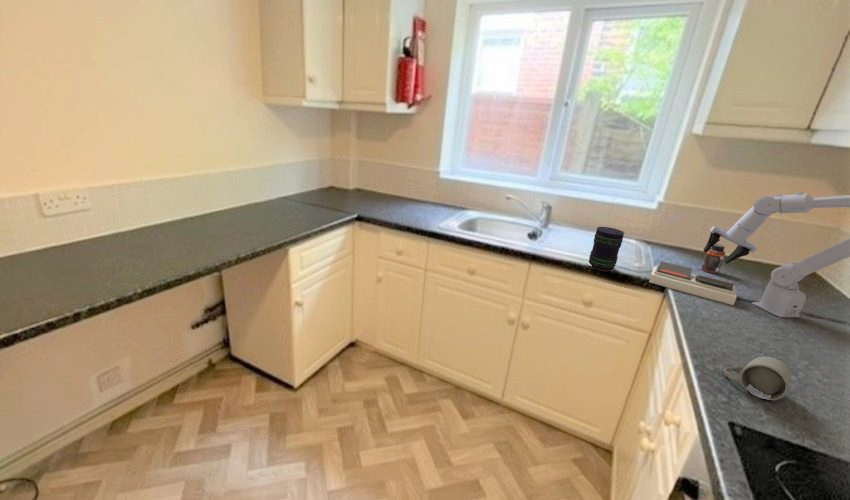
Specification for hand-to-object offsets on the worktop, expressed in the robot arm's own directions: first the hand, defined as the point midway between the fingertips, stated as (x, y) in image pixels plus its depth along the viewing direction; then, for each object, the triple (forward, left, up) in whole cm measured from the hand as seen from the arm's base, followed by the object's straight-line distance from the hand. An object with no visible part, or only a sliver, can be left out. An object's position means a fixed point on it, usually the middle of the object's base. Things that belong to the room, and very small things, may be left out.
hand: (715, 256), depth 138 cm
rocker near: (-6, +4, -7) cm, 10 cm away
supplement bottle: (+14, -16, -12) cm, 24 cm away
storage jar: (+17, +32, -12) cm, 38 cm away
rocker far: (+2, +13, -7) cm, 15 cm away
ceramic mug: (-53, +41, -12) cm, 68 cm away
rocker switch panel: (-2, +9, -11) cm, 15 cm away
